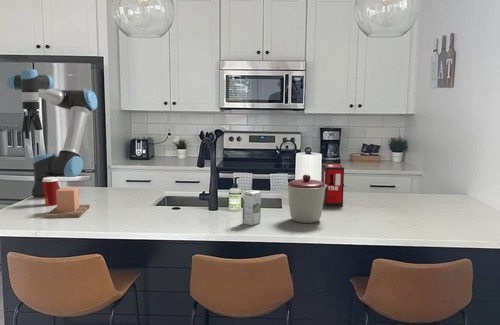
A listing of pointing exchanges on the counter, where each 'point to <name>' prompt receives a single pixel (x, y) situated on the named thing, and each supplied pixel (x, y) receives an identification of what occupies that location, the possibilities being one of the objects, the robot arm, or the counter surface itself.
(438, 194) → the counter surface
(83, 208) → the wooden base with block
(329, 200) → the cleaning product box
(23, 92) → the robot arm
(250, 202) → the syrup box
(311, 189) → the canister
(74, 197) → the peach bevelled cube
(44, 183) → the paper cup
